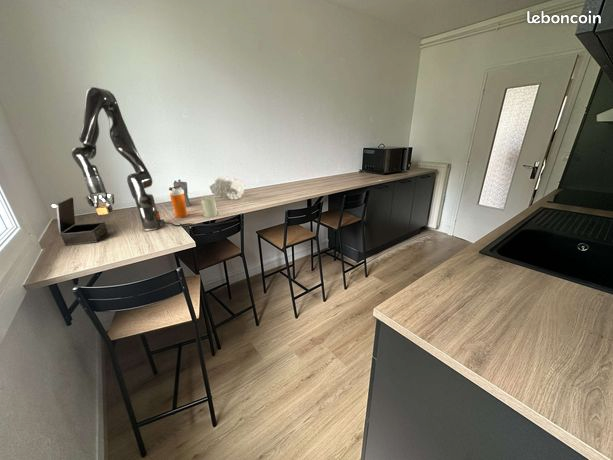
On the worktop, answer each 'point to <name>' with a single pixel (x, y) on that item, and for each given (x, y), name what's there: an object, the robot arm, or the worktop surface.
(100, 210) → the sandwich
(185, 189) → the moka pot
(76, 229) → the dark brown box
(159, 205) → the worktop surface
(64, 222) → the lid
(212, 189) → the crumpled white cloth
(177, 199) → the shaker bottle
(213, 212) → the can
